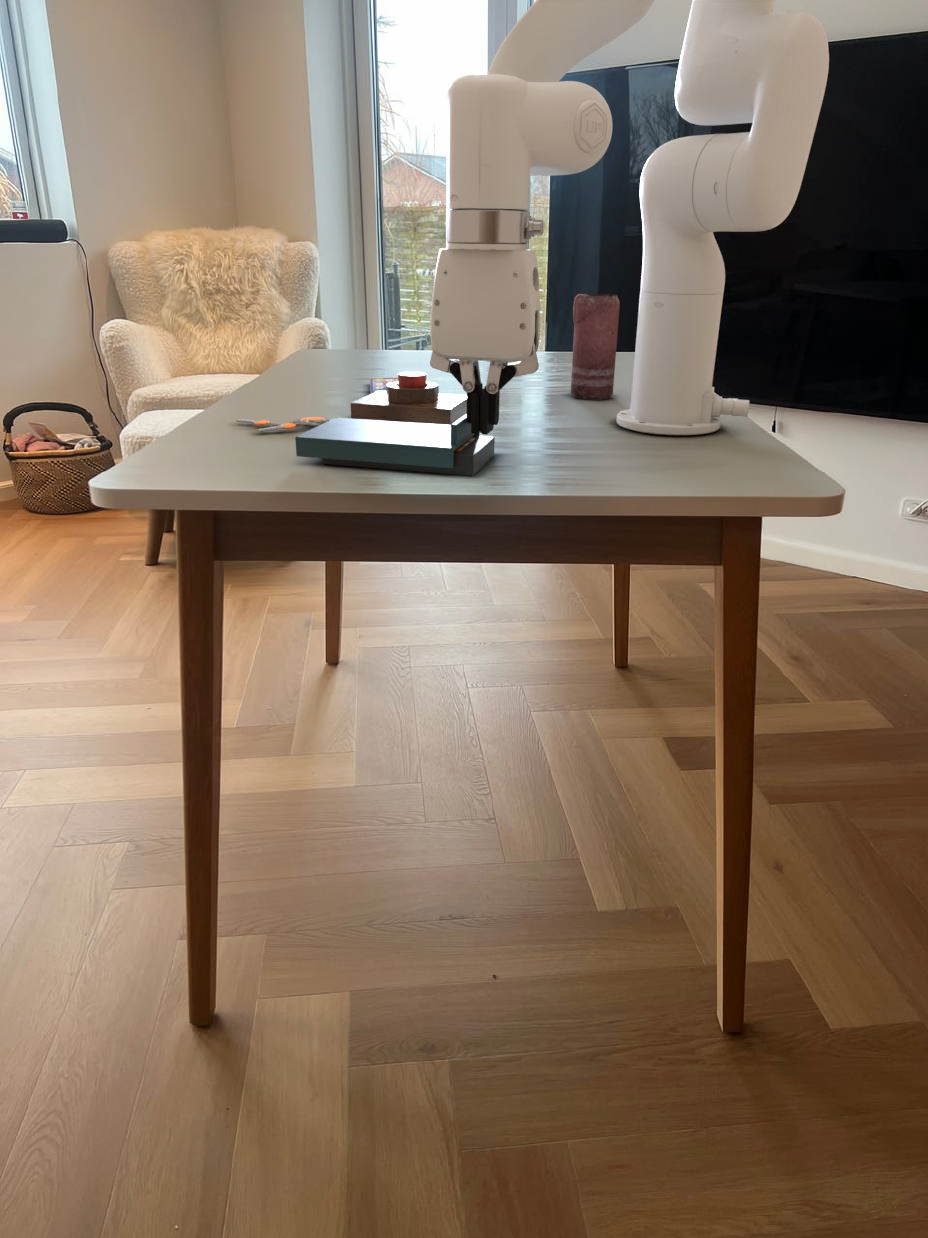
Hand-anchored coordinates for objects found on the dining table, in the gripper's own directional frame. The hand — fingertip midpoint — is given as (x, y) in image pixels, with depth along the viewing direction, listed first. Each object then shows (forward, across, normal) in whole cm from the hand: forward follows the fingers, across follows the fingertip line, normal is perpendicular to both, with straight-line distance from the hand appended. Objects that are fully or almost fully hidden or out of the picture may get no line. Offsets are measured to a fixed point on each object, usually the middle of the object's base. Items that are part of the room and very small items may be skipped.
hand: (482, 431), depth 88 cm
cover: (+4, +10, 0) cm, 11 cm away
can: (+4, -6, -44) cm, 45 cm away
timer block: (+4, +15, -22) cm, 27 cm away
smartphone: (+4, +22, -38) cm, 45 cm away
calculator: (+4, +8, 0) cm, 9 cm away
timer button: (0, +15, -22) cm, 27 cm away
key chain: (+4, +27, -11) cm, 29 cm away
